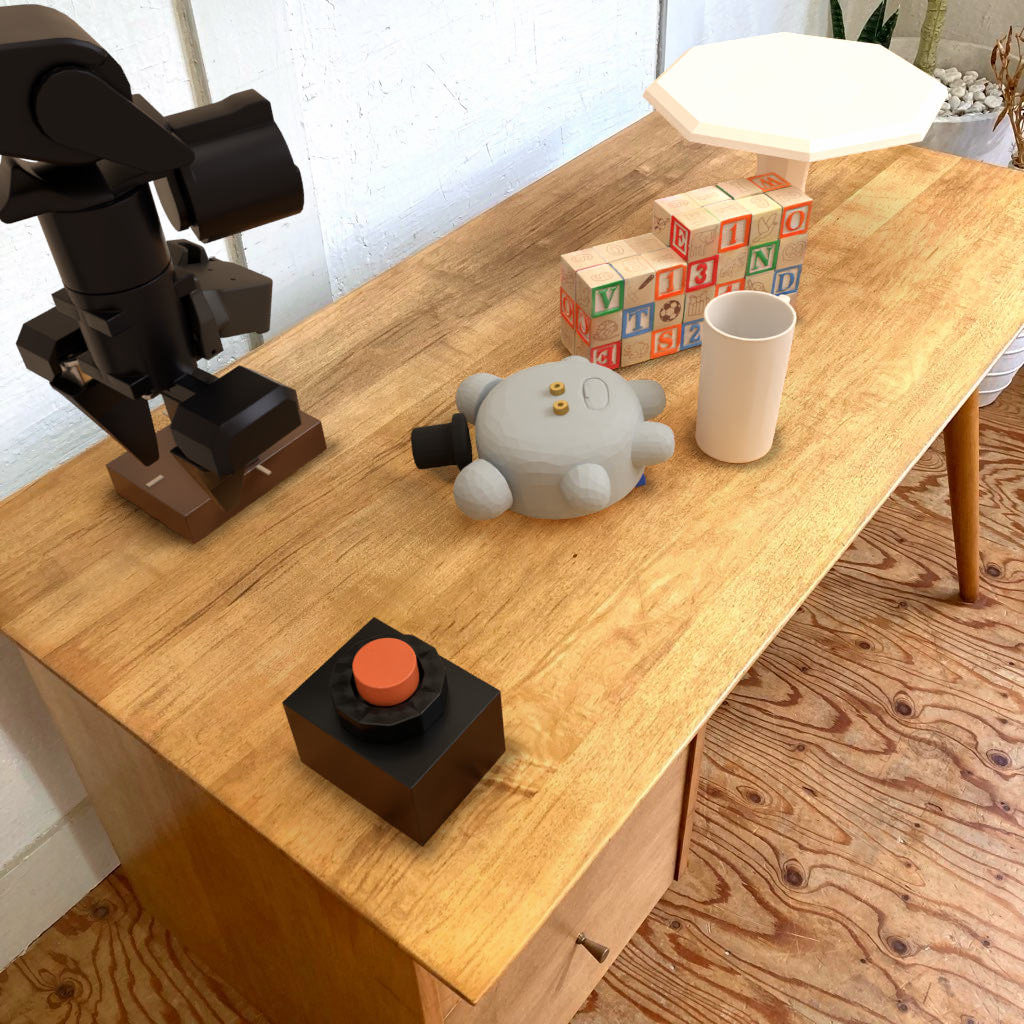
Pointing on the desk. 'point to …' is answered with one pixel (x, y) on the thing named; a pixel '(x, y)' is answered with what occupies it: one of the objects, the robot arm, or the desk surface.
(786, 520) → the desk surface
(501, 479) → the figurine
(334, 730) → the button box
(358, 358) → the desk surface
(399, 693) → the button
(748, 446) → the mug
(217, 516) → the dial panel
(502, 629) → the desk surface
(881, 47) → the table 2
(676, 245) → the stack of blocks
